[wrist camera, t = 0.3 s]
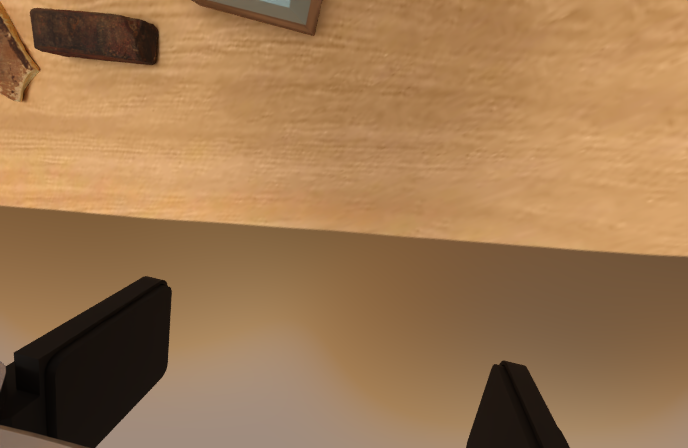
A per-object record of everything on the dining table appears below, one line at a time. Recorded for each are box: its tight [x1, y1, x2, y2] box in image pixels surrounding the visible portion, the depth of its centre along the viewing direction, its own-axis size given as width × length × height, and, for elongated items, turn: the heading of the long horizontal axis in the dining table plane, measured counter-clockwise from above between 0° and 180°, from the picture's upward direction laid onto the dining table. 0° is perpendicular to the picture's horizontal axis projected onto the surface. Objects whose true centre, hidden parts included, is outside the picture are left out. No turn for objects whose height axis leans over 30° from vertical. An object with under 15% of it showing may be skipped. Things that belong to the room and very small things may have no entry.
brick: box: [30, 8, 158, 65], centre depth 38 cm, size 11×4×5 cm, turn 84°
